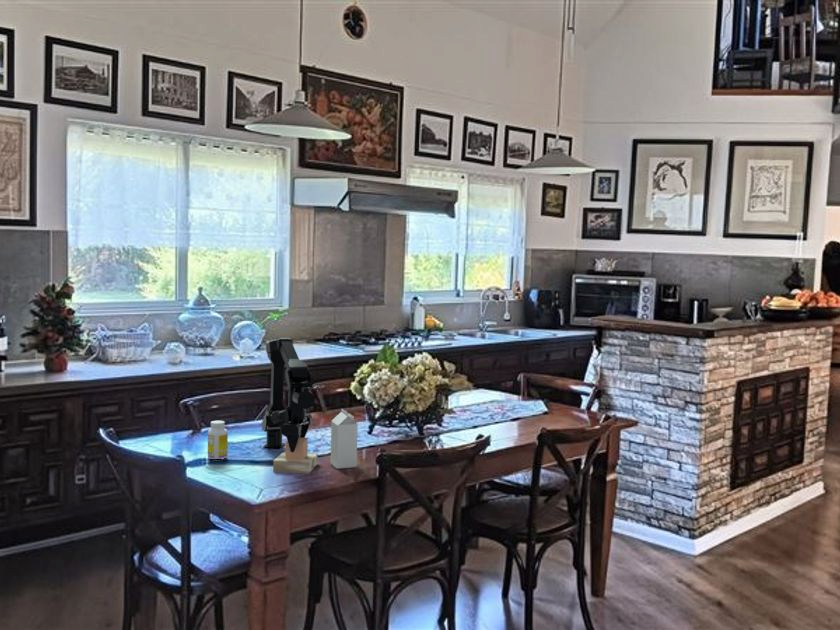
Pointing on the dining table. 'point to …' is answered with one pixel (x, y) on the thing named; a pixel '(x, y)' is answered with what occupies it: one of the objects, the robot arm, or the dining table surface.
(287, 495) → the dining table surface
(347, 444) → the milk carton
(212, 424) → the supplement bottle
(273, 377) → the robot arm
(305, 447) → the tan cube
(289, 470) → the birch block
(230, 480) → the dining table surface
